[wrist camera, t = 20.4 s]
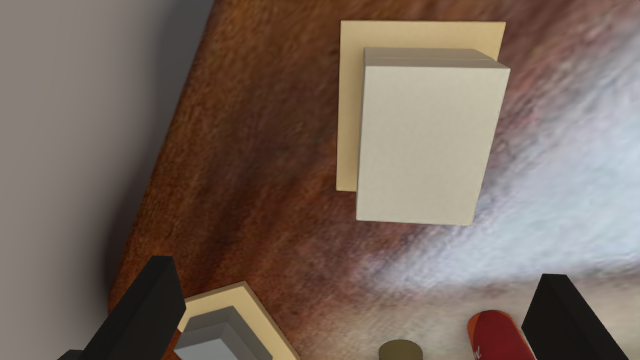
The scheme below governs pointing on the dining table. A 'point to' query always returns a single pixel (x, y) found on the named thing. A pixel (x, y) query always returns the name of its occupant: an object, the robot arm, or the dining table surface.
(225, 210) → the dining table surface
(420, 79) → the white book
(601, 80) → the dining table surface
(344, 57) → the cream box
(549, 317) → the robot arm
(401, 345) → the pepper shaker
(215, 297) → the grey stack
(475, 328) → the paper cup
